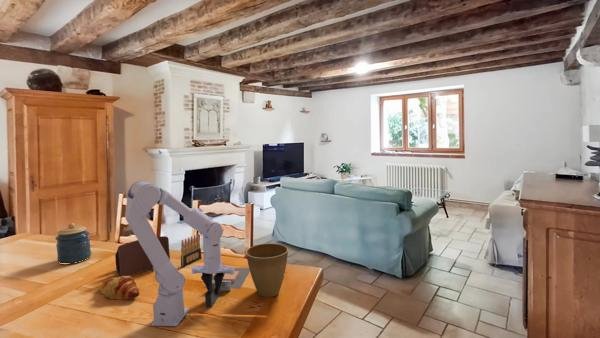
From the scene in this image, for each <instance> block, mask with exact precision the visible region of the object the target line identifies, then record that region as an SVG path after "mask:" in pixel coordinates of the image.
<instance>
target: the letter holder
mask: <svg viewBox="0 0 600 338" xmlns="http://www.w3.org/2000/svg"><path fill="white" fill-rule="evenodd" d="M157 238H158V240H159V242H160V243H161V245H162V247H163V249H164V251H165V252H166V254H167V256H168V258H169V260H170V261H171V255H170V240H169V237H168V236H165V235H163V236H157ZM114 256H115V269H116V271H117V272H116V273H117V274H118V276H119V277H122V276H129V277H130V276H132V275H136V274H139V273H143V272H147V271H152V270H154V269H153V265H152V263H151V262H150V260H149V258H148V257H147V255H146V253H145V251H144V250H143V248H142V246H141V245H140V243H139V241H138V239H137V240H133V241H130V242H127V243H123V244H121V245H118V246H117V250H116V252H115V254H114Z"/></svg>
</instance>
